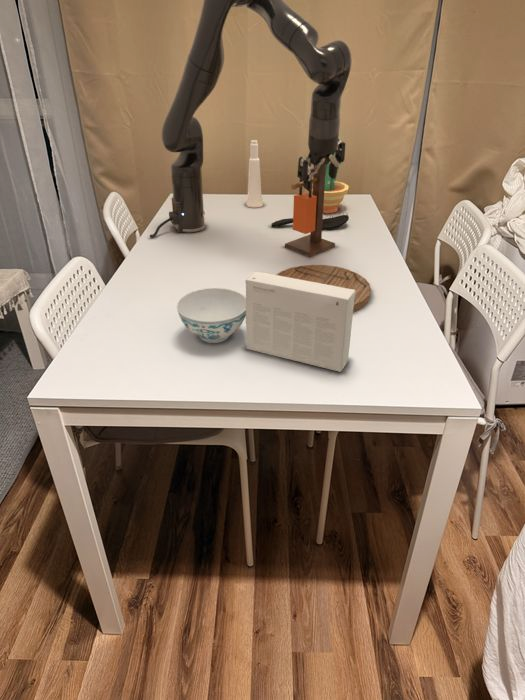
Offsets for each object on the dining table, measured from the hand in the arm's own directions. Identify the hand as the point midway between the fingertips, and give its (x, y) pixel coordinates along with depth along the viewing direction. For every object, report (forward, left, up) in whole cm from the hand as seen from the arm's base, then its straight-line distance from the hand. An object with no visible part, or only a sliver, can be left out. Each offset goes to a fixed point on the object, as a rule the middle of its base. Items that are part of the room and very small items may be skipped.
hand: (319, 183), depth 147 cm
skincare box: (-30, -47, -20) cm, 59 cm away
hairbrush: (+8, +19, -20) cm, 28 cm away
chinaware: (-43, -33, -20) cm, 58 cm away
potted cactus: (+21, +32, -20) cm, 43 cm away
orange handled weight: (-3, +2, -14) cm, 14 cm away
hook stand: (-2, +3, -20) cm, 20 cm away
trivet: (-12, -24, -20) cm, 33 cm away
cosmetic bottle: (0, +46, -20) cm, 50 cm away
